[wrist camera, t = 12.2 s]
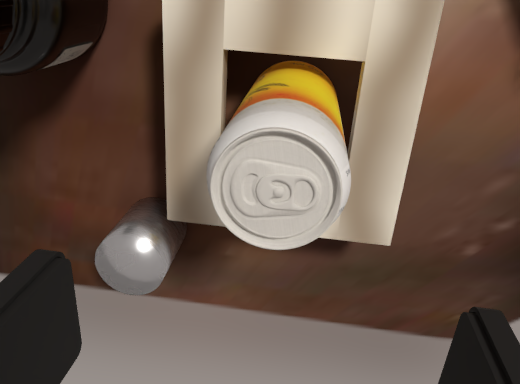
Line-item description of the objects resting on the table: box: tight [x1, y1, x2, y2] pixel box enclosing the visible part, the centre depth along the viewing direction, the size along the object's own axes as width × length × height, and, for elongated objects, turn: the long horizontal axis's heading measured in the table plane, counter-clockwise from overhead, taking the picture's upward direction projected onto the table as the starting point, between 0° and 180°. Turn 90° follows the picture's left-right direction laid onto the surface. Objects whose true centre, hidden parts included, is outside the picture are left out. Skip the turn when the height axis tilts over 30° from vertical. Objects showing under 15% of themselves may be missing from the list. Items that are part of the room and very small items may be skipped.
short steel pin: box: [95, 197, 187, 295], centre depth 34 cm, size 5×5×6 cm
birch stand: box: [162, 0, 445, 246], centre depth 29 cm, size 15×15×5 cm
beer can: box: [206, 61, 351, 250], centre depth 25 cm, size 6×6×15 cm
